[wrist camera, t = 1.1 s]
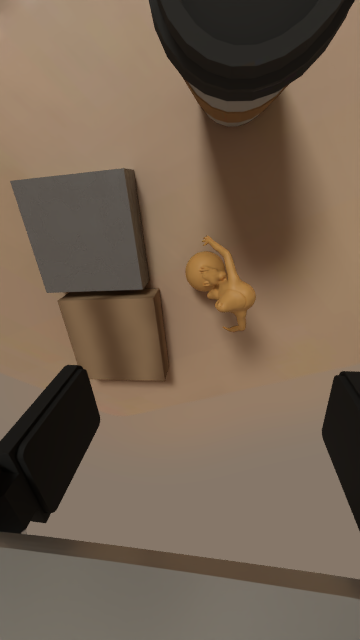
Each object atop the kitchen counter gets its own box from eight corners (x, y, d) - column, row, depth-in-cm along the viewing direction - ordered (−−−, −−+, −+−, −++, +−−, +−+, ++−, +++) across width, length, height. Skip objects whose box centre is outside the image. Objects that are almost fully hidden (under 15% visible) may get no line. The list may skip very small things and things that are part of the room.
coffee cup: (299, 113, 22) (420, 5, 9) (204, 158, 24) (183, 127, 11) (276, -23, 19) (411, -522, 5) (169, 44, 21) (80, -191, 8)
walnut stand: (159, 288, 31) (153, 298, 28) (168, 366, 35) (164, 380, 33) (71, 291, 32) (57, 300, 30) (92, 365, 37) (82, 379, 35)
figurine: (177, 232, 27) (150, 263, 17) (236, 216, 26) (246, 238, 15) (197, 304, 31) (185, 367, 20) (250, 293, 29) (267, 355, 19)
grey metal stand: (133, 169, 25) (123, 168, 23) (149, 280, 30) (142, 289, 28) (30, 181, 27) (10, 180, 25) (61, 283, 32) (46, 292, 29)
